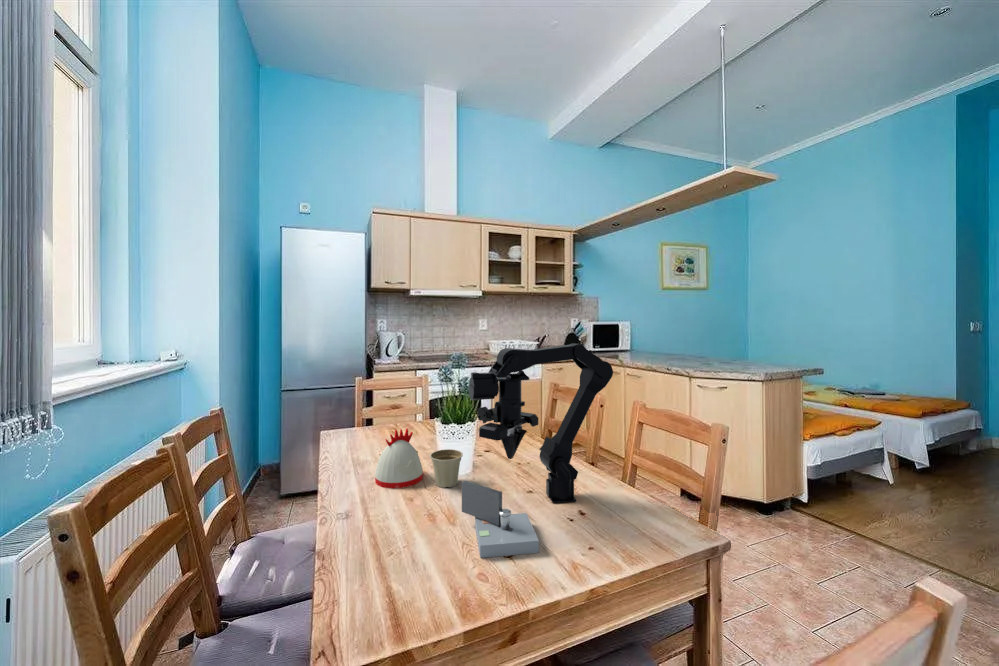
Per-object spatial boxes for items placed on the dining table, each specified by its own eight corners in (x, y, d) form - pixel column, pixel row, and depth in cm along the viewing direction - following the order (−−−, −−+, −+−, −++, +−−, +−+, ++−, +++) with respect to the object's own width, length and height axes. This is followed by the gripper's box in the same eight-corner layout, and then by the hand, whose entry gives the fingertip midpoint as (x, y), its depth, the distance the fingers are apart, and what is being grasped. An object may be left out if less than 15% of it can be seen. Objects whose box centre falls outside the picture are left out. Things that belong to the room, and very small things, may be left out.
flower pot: (457, 491, 112) (457, 461, 112) (425, 489, 114) (424, 458, 113) (466, 478, 121) (466, 450, 121) (437, 476, 123) (436, 448, 123)
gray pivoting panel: (513, 525, 88) (513, 493, 87) (506, 531, 86) (506, 497, 85) (467, 509, 96) (466, 479, 95) (459, 513, 94) (459, 483, 93)
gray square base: (526, 523, 94) (526, 512, 94) (538, 552, 82) (538, 539, 82) (475, 527, 93) (475, 516, 93) (480, 558, 81) (480, 544, 81)
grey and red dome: (430, 481, 119) (429, 431, 119) (383, 492, 112) (382, 438, 111) (412, 467, 131) (412, 421, 130) (369, 476, 123) (369, 427, 123)
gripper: (505, 389, 115) (506, 443, 116) (461, 400, 100) (462, 462, 101) (539, 393, 109) (539, 451, 109) (497, 405, 94) (498, 472, 94)
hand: (510, 458), depth 104 cm, fingers closed
